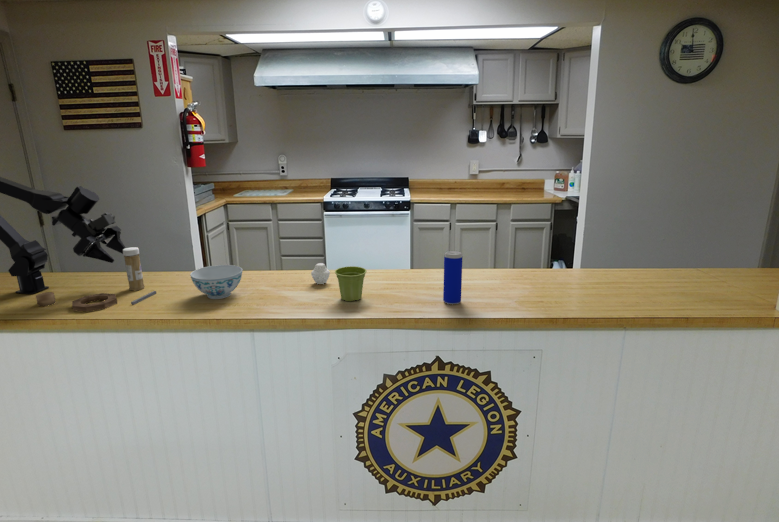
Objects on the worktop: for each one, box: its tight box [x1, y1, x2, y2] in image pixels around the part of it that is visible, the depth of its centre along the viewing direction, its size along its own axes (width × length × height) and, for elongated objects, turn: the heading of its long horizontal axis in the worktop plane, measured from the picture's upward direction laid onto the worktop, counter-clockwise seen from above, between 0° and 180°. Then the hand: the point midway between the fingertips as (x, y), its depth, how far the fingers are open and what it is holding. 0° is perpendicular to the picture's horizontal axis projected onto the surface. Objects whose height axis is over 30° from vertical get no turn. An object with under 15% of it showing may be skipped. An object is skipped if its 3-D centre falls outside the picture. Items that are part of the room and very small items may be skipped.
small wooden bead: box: [35, 291, 57, 307], centre depth 141 cm, size 4×4×3 cm
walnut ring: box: [71, 292, 118, 313], centre depth 141 cm, size 11×11×2 cm
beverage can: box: [442, 250, 463, 306], centre depth 138 cm, size 5×5×15 cm
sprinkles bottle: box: [122, 246, 146, 291], centre depth 153 cm, size 5×5×14 cm
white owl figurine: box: [310, 262, 331, 285], centre depth 157 cm, size 6×6×7 cm
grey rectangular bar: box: [130, 290, 157, 306], centre depth 145 cm, size 10×1×1 cm, turn 168°
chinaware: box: [189, 264, 243, 300], centre depth 146 cm, size 15×15×8 cm
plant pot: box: [334, 265, 367, 302], centre depth 143 cm, size 9×9×9 cm
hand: (120, 257), depth 151 cm, fingers open, 9 cm apart
